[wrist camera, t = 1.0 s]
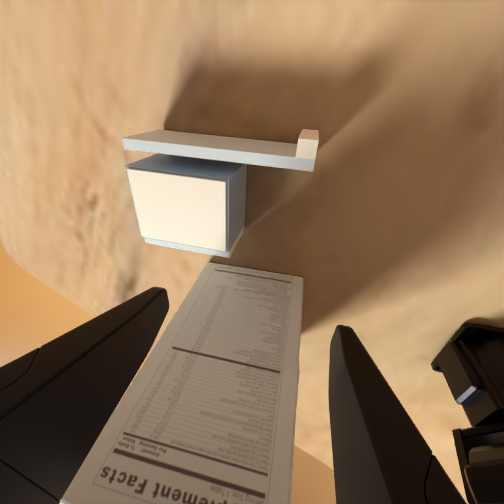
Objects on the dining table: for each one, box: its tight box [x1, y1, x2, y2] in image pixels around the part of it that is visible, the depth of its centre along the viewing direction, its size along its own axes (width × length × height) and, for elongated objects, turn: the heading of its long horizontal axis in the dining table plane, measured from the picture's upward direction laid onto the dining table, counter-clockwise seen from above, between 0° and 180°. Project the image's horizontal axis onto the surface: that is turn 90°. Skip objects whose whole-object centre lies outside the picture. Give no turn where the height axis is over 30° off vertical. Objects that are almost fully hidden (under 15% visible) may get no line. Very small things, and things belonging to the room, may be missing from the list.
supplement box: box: [60, 262, 304, 504], centre depth 18 cm, size 10×9×17 cm
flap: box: [122, 129, 319, 172], centre depth 15 cm, size 11×2×4 cm, turn 88°
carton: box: [126, 153, 247, 258], centre depth 18 cm, size 6×6×5 cm
